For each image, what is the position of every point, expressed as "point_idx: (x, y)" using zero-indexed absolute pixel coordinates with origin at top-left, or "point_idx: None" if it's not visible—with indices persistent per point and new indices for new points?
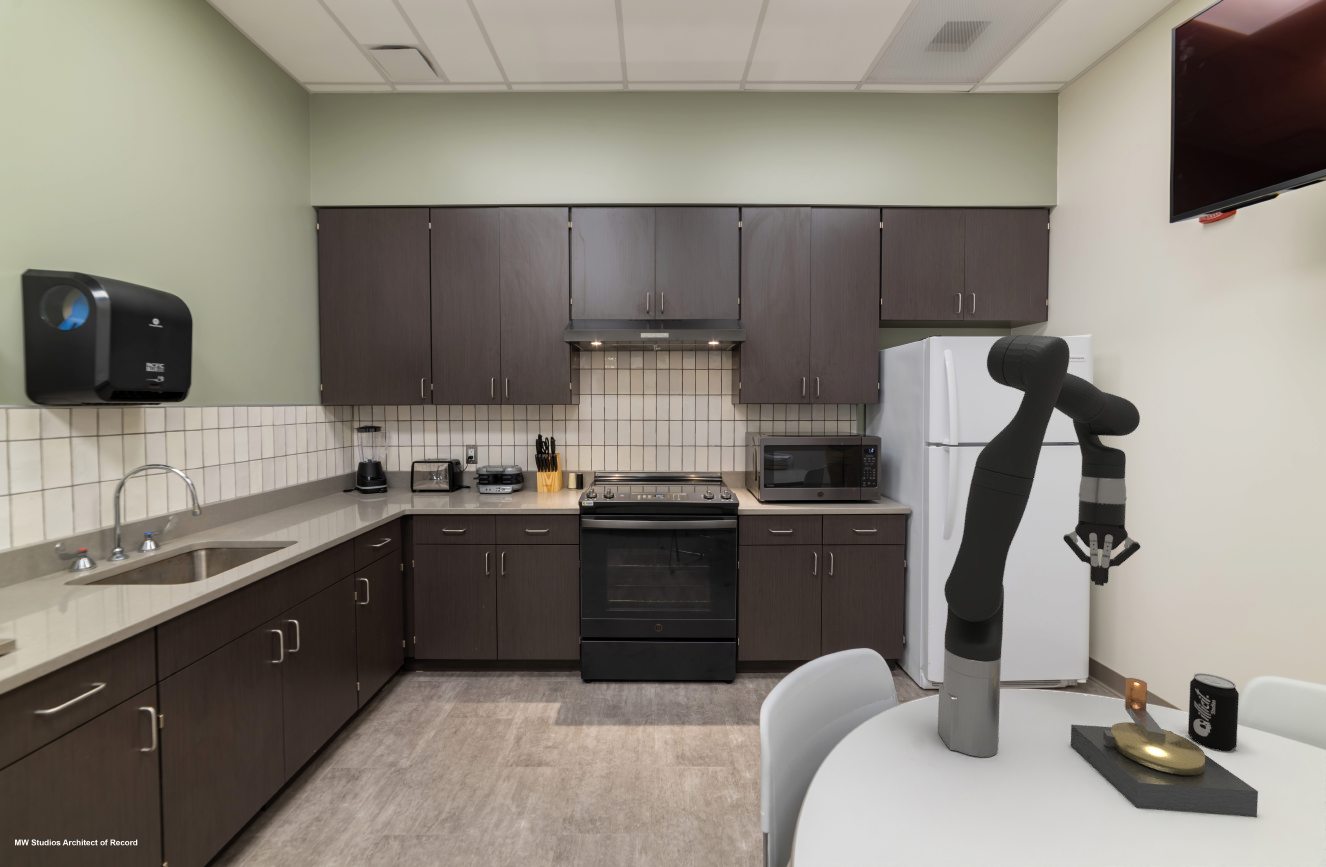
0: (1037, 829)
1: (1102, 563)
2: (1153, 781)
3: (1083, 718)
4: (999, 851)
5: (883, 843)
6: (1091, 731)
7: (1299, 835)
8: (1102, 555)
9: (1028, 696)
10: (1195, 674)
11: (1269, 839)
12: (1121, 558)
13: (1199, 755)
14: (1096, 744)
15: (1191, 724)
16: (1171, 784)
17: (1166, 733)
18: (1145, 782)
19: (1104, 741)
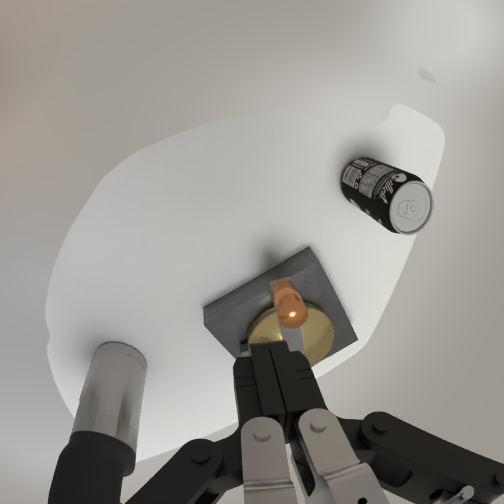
0: (200, 422)
1: (297, 463)
2: None
3: (212, 213)
4: (187, 440)
5: (141, 454)
6: (226, 327)
7: (368, 328)
8: (306, 500)
9: (131, 186)
10: (395, 197)
11: (344, 348)
12: (386, 475)
13: (327, 346)
14: (232, 352)
15: (349, 195)
16: None
17: (308, 320)
18: None
19: (240, 341)
